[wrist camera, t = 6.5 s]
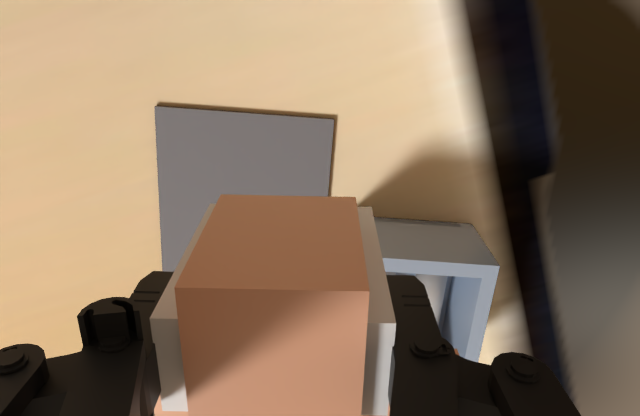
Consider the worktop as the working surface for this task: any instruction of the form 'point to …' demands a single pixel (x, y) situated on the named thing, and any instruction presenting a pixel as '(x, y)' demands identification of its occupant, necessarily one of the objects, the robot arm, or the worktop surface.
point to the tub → (445, 274)
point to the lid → (275, 309)
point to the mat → (232, 164)
